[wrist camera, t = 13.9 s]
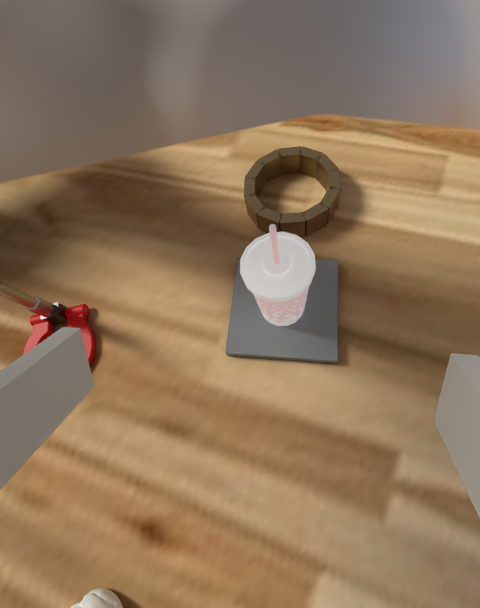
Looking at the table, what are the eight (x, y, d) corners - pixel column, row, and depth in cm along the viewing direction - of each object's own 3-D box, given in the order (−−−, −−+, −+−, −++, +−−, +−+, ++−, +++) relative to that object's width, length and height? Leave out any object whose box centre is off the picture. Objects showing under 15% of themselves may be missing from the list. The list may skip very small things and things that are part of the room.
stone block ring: (231, 218, 42) (227, 202, 39) (274, 156, 45) (272, 137, 42) (311, 251, 38) (312, 236, 36) (352, 181, 41) (356, 163, 38)
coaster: (227, 355, 35) (225, 353, 34) (239, 262, 39) (237, 258, 38) (336, 363, 33) (337, 361, 32) (337, 264, 37) (338, 260, 36)
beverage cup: (307, 337, 34) (312, 272, 21) (247, 328, 35) (218, 262, 22) (315, 282, 36) (324, 192, 23) (259, 275, 37) (237, 187, 24)
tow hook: (98, 382, 37) (97, 304, 40) (2, 361, 25) (12, 252, 28) (27, 396, 38) (32, 318, 41) (-99, 382, 26) (-78, 274, 29)
